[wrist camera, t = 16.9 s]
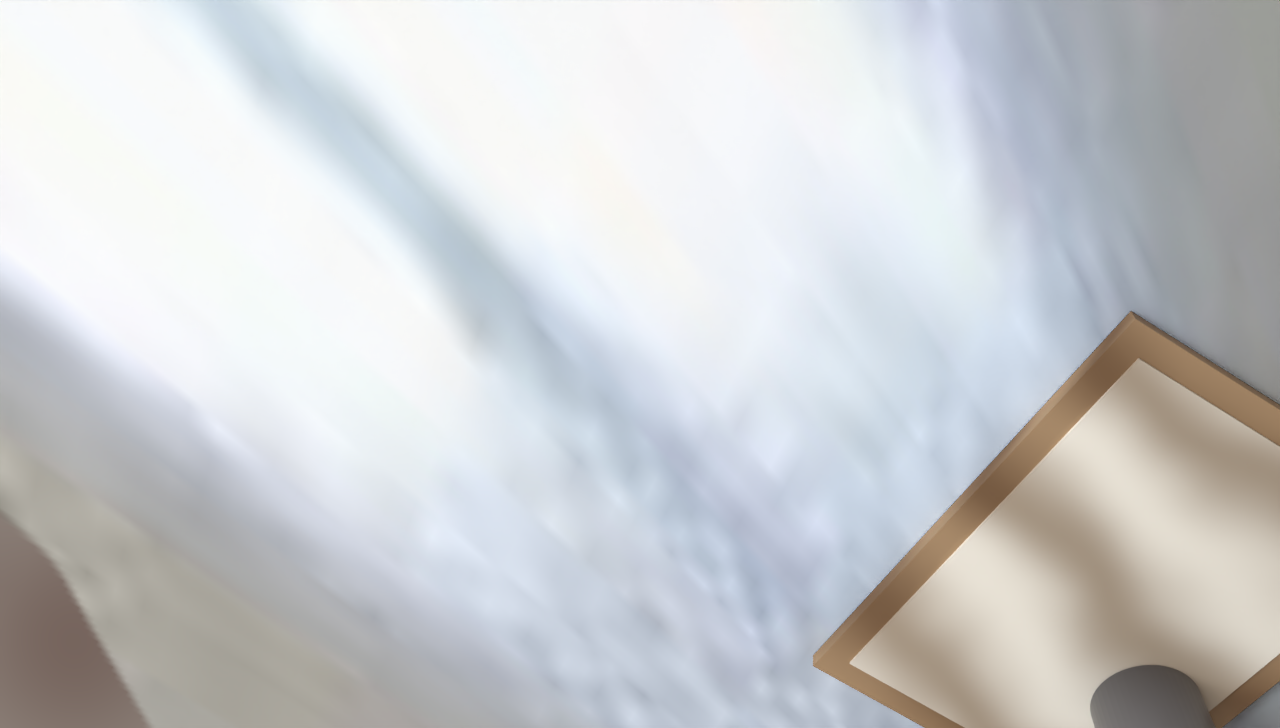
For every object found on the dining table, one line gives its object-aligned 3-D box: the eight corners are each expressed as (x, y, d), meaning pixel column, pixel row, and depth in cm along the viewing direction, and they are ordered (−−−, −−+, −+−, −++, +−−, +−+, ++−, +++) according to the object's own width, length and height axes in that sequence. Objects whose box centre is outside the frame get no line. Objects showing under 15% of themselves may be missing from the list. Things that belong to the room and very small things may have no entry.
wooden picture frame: (1130, 310, 38) (1136, 320, 37) (1459, 518, 40) (1469, 530, 40) (813, 655, 46) (813, 667, 46) (1098, 813, 48) (1102, 826, 48)
